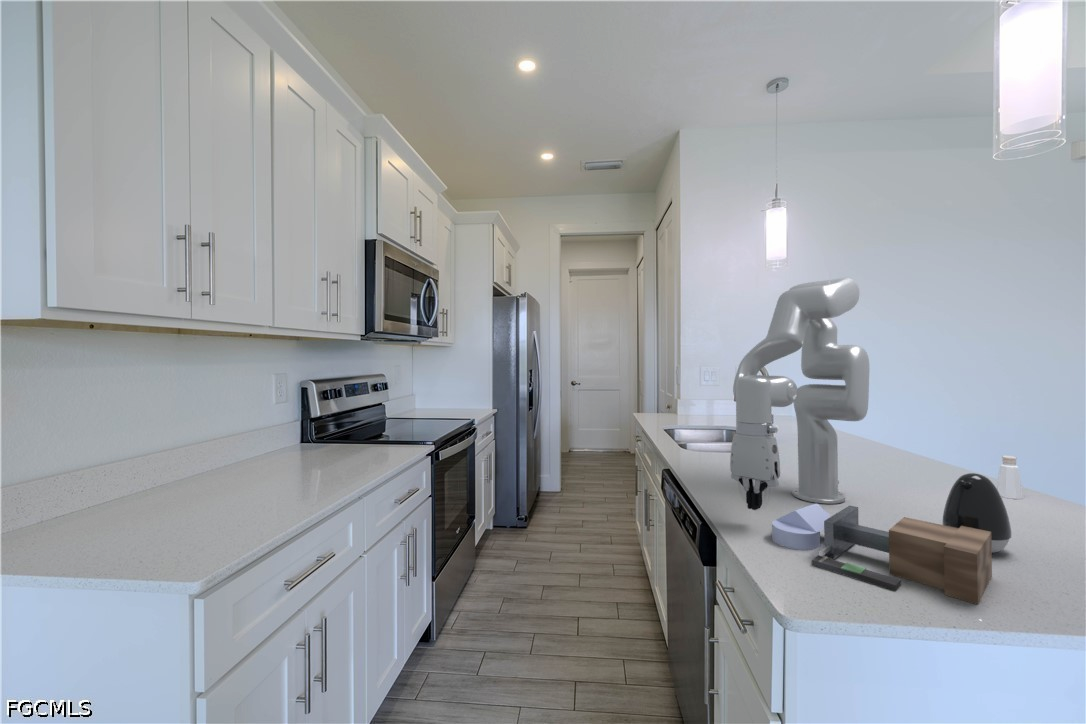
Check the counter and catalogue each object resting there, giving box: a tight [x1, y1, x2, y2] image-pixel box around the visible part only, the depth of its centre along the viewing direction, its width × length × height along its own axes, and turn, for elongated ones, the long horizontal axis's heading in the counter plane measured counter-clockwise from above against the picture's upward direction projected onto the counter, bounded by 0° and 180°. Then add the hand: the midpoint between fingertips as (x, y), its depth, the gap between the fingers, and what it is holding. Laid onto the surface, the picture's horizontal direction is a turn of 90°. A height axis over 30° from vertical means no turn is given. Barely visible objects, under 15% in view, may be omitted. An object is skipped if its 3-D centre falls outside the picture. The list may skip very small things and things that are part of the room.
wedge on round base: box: [771, 503, 831, 551], centre depth 99 cm, size 9×7×13 cm
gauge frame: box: [811, 517, 993, 605], centre depth 84 cm, size 18×22×8 cm
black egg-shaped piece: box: [942, 472, 1013, 554], centre depth 93 cm, size 10×10×15 cm
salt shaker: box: [996, 455, 1024, 500], centre depth 125 cm, size 5×5×11 cm
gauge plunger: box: [818, 504, 889, 560], centre depth 88 cm, size 18×10×7 cm, turn 129°
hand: (754, 508), depth 107 cm, fingers closed
